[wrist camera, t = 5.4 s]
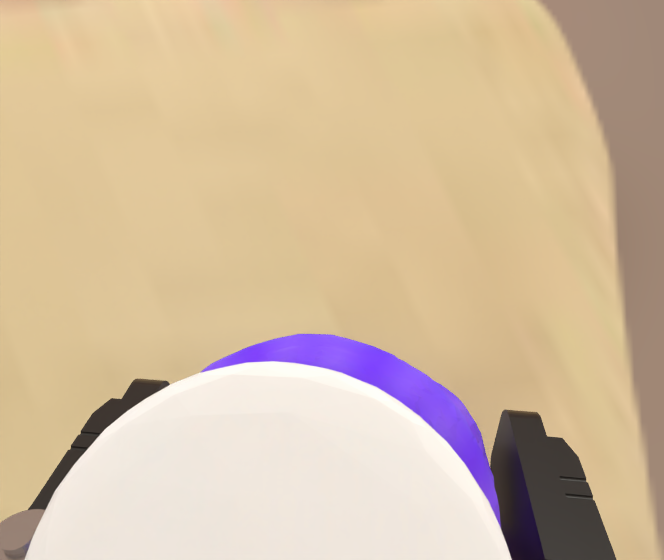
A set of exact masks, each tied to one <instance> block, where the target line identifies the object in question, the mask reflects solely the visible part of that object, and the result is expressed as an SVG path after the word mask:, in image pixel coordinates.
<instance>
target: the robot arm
mask: <svg viewBox="0 0 664 560" xmlns="http://www.w3.org/2000/svg"><path fill="white" fill-rule="evenodd" d="M169 385H170V384H169V383H168V382H167V381H160V380H148V379H135V380H134V381H133V382H132V383H131V385H130V386H129V388H128V390H127V391H126V393H125V394H124V396H123V398H122V399H113V398H111V399H110V400H109V401H108V402H106V403H105V404H104V405H103V406H101V407H100V408H99V409H98V410H96V411H95V412H94V413H93V414H92V415H91V417H90V418H89V420H88V421H87V423H86V424H85V426H84V427H83V429H82V430H81V434H80V435H78V436H77V438H76V439H75V441H74V442H73V444H72V445H71V449H70V450H68V451H67V453H66V454H65V456H64V457H63V459H62V460H61V462H60V463H59V465H58V466H57V468H56V469H55V471H54V472H53V474H52V475H51V477H50V478H49V480H48V481H47V483H46V484H45V486H44V487H43V489H42V490H41V492H40V493H39V495H38V496H37V498H36V499H35V501H34V502H33V504H32V505H31V506H30V508H29V509H28V510H26V511H22V512H20V513H17V514H15V515H12V516H10V517H9V518H7V519H5V520H4V521H2V522H1V523H0V560H25V557H26V554H27V551H28V549H29V546H30V543H31V540H32V538H33V536H34V533H35V531H36V529H37V526H38V524H39V522H40V520H41V518H42V516H43V514H44V512H45V510H46V508H47V506H48V504H49V502H50V500H51V498H52V496H53V494H54V492H55V490H56V489H57V487H58V486H59V485H60V483H61V482H62V481H63V479H64V478H65V476H66V475H67V474H68V472H69V471H70V470H71V468H72V467H73V465H74V464H75V463H76V462H77V461H78V460H79V458H80V457H81V456H82V455H83V454H84V453H85V452H86V450H87V449H88V448H89V447H90V446H91V445H92V444H93V442H94V441H95V440H96V439H97V438H98V437H99V436H100V434H101V433H102V432H103V431H104V430H105V429H106V428H107V427H108V426H110V425H111V424H112V423H113V422H114V421H116V420H117V419H118V418H119V417H121V416H122V415H123V414H124V413H126V412H127V411H128V410H130V409H131V408H133V407H134V406H135V405H137V404H138V403H140V402H141V401H143V400H144V399H146V398H148V397H149V396H151V395H153V394H155V393H157V392H158V391H160V390H162V389H164V388H165V387H167V386H169ZM490 469H491V471H492V474H493V476H494V487H495V491H496V494H497V498H498V504H499V511H500V524H501V530H502V533H503V536H504V539H505V541H506V544H507V547H508V550H509V553H510V556H511V558H512V560H616V557H615V554H614V552H613V549H612V546H611V543H610V541H609V538H608V535H607V533H606V530H605V527H604V525H603V522H602V519H601V517H600V514H599V511H598V509H597V506H596V503H595V501H594V500H593V495H592V492H591V490H590V487H589V484H588V483H587V482H586V476H585V474H584V471H583V468H582V466H581V463H580V460H579V457H578V456H577V455H576V454H575V453H574V451H573V450H572V449H571V448H570V447H569V446H568V444H567V443H566V442H565V441H564V440H563V438H557V437H547V435H546V432H545V429H544V426H543V423H542V420H541V417H540V415H539V414H538V413H537V412H525V411H513V410H504V411H503V412H502V415H501V418H500V422H499V426H498V430H497V434H496V438H495V442H494V446H493V450H492V455H491V465H490Z"/></svg>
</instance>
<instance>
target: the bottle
mask: <svg viewBox="0 0 664 560" xmlns="http://www.w3.org/2000/svg"><path fill="white" fill-rule="evenodd" d="M25 560H512V558H511V556H510V553H509V550H508V547H507V544H506V541H505V539H504V536H503V533H502V530H501V524H500V511H499V504H498V498H497V494H496V491H495V487H494V476H493V474H492V471H491V469H490V467H489V462H488V459H487V456H486V453H485V448H484V444H483V440H482V436H481V432H480V431H479V429H478V427H477V424H476V423H475V421H474V420H473V418H472V417H471V415H470V413H469V412H468V410H467V409H466V407H465V406H464V404H463V403H462V402H461V401H460V400H459V399H458V398H457V397H456V396H455V395H454V394H453V393H451V392H450V391H449V390H447V389H446V388H445V387H443V386H442V385H440V384H439V383H437V382H435V381H433V380H432V379H431V378H430V377H428V376H427V375H426V374H424V373H423V372H421V371H419V370H417V369H416V368H414V367H412V366H410V365H409V364H408V363H406V362H404V361H402V360H400V359H398V358H397V357H395V356H394V355H392V354H390V353H388V352H385V351H383V350H381V349H378V348H376V347H374V346H370V345H367V344H364V343H361V342H357V341H354V340H351V339H347V338H343V337H339V336H335V335H326V334H297V335H292V336H287V337H282V338H277V339H273V340H270V341H266V342H263V343H259V344H256V345H253V346H250V347H247V348H245V349H242V350H240V351H238V352H236V353H234V354H231V355H229V356H227V357H225V358H222V359H220V360H218V361H216V362H214V363H212V364H211V365H209V366H208V367H206V368H205V369H204V370H203V371H201V372H200V373H198V374H195V375H193V376H190V377H188V378H185V379H183V380H180V381H178V382H175V383H173V384H171V385H169V386H167V387H165V388H164V389H162V390H160V391H158V392H157V393H155V394H153V395H151V396H149V397H148V398H146V399H144V400H143V401H141V402H140V403H138V404H137V405H135V406H134V407H133V408H131V409H130V410H128V411H127V412H126V413H124V414H123V415H122V416H121V417H119V418H118V419H117V420H116V421H114V422H113V423H112V424H111V425H110V426H108V427H107V428H106V429H105V430H104V431H103V432H102V433H101V434H100V436H99V437H98V438H97V439H96V440H95V441H94V442H93V444H92V445H91V446H90V447H89V448H88V449H87V450H86V452H85V453H84V454H83V455H82V456H81V457H80V458H79V460H78V461H77V462H76V463H75V464H74V465H73V467H72V468H71V470H70V471H69V472H68V474H67V475H66V476H65V478H64V479H63V481H62V482H61V483H60V485H59V486H58V487H57V489H56V490H55V492H54V494H53V496H52V498H51V500H50V502H49V504H48V506H47V508H46V510H45V512H44V514H43V516H42V518H41V520H40V522H39V524H38V526H37V529H36V531H35V533H34V536H33V538H32V540H31V543H30V546H29V549H28V551H27V554H26V557H25Z"/></svg>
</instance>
